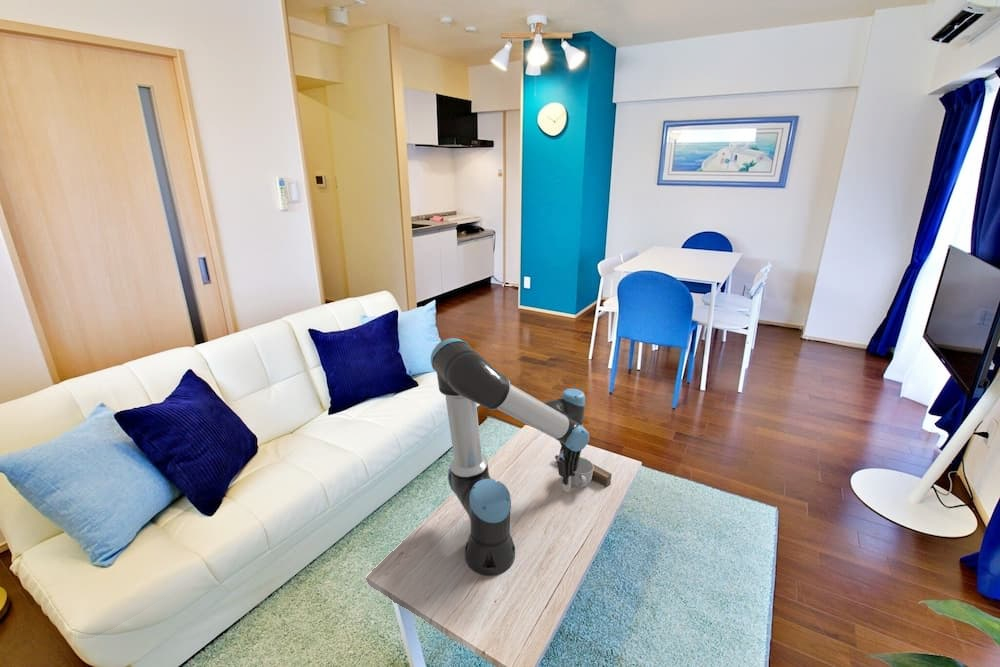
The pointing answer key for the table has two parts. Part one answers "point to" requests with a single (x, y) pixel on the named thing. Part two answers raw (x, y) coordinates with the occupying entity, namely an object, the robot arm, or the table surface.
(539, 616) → the table surface
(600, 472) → the board
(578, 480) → the teacup
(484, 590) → the table surface
